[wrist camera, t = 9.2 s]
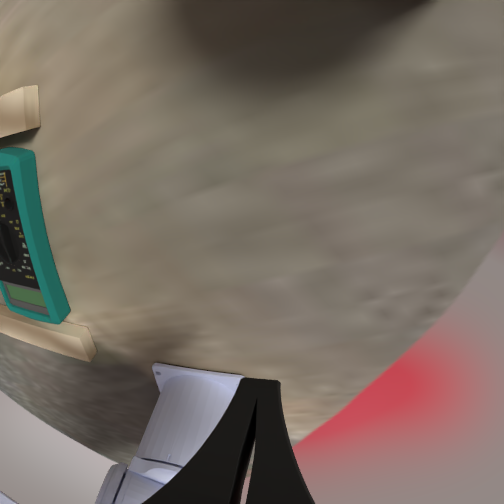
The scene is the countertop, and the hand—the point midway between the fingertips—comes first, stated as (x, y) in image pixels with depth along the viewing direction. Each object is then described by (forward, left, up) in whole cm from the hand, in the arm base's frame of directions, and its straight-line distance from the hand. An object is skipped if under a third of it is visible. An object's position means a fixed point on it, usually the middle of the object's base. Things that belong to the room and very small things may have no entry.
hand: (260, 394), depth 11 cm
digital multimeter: (+1, +21, -10) cm, 23 cm away
